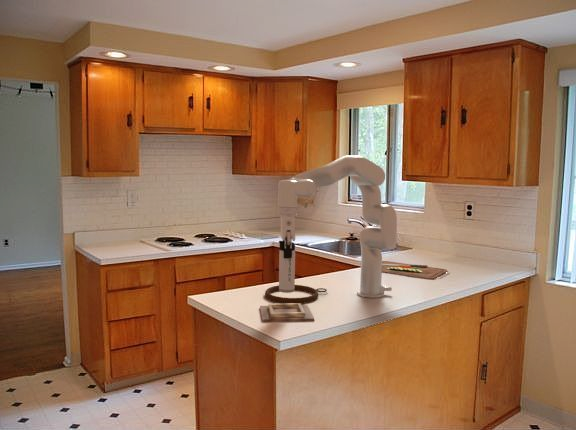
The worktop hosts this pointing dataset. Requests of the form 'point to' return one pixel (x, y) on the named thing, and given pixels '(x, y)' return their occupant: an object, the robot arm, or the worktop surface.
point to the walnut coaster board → (286, 312)
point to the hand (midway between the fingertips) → (286, 256)
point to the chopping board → (413, 270)
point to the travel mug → (286, 270)
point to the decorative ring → (294, 300)
